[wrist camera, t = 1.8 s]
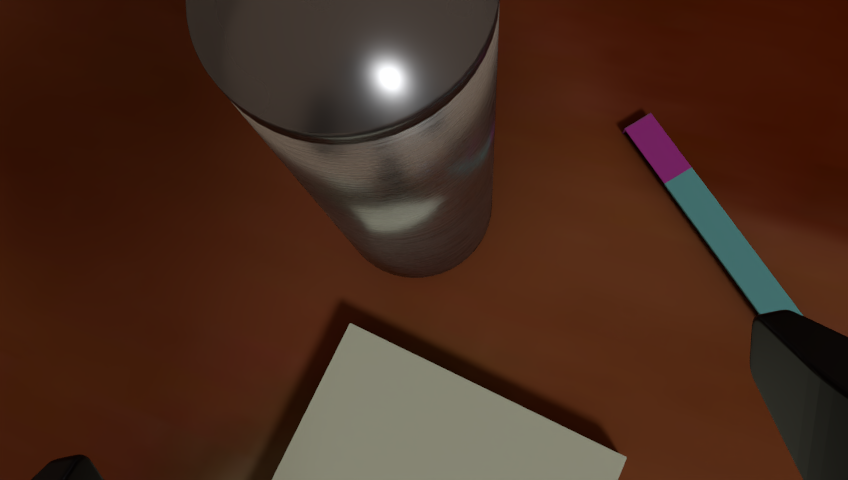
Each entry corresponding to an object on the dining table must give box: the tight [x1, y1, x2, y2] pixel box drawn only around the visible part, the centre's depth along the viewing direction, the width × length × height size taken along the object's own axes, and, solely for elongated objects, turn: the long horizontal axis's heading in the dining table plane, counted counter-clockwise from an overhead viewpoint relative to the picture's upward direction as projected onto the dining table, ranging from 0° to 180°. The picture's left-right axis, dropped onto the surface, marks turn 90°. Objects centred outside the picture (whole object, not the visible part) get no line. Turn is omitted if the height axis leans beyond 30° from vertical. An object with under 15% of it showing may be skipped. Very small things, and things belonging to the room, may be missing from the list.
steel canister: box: [186, 0, 500, 278], centre depth 17 cm, size 5×5×12 cm
